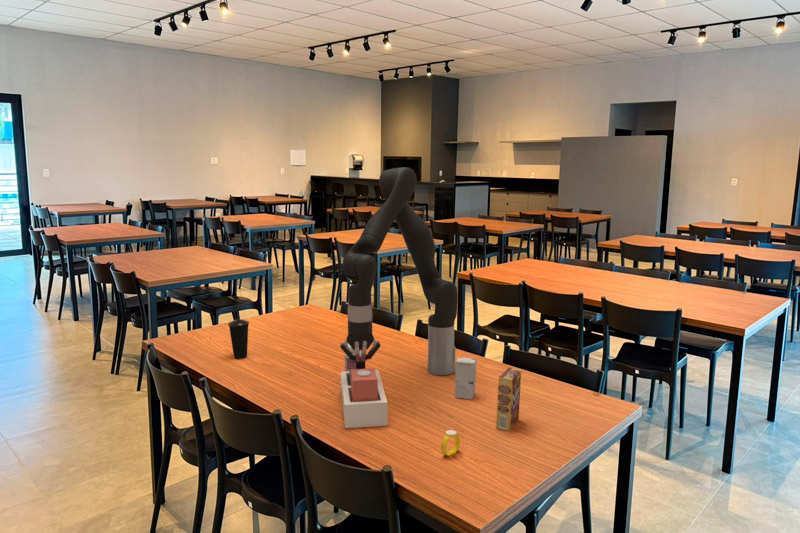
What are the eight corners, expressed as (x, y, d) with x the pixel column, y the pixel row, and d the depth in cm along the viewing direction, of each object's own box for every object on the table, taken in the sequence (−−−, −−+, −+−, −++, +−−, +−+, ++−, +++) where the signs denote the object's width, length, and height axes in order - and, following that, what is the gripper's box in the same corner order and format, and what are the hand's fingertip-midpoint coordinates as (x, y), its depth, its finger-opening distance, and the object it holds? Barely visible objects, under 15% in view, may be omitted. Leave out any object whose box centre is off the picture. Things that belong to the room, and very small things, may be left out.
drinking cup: (225, 359, 215) (222, 308, 212) (238, 353, 222) (235, 303, 219) (242, 361, 213) (239, 310, 209) (254, 355, 220) (252, 305, 216)
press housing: (378, 390, 185) (377, 369, 184) (387, 425, 160) (387, 402, 159) (341, 392, 184) (340, 371, 182) (345, 428, 158) (344, 404, 157)
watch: (453, 449, 147) (454, 427, 147) (461, 452, 145) (463, 430, 145) (438, 455, 143) (439, 433, 142) (446, 459, 141) (448, 437, 140)
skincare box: (454, 397, 179) (454, 361, 177) (457, 392, 183) (457, 356, 181) (473, 400, 177) (474, 363, 175) (476, 394, 181) (476, 358, 179)
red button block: (374, 390, 170) (374, 366, 168) (377, 402, 161) (377, 377, 160) (351, 391, 169) (350, 367, 167) (353, 404, 160) (352, 378, 159)
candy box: (510, 432, 156) (512, 379, 153) (495, 428, 158) (497, 376, 155) (520, 419, 164) (521, 369, 161) (505, 416, 166) (507, 366, 163)
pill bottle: (366, 376, 197) (365, 345, 195) (350, 380, 194) (349, 348, 192) (357, 371, 202) (356, 341, 200) (342, 374, 199) (341, 344, 197)
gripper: (380, 314, 178) (380, 366, 181) (337, 315, 176) (339, 368, 179) (382, 320, 170) (383, 375, 173) (338, 322, 169) (339, 377, 172)
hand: (360, 372), depth 176 cm, fingers closed
